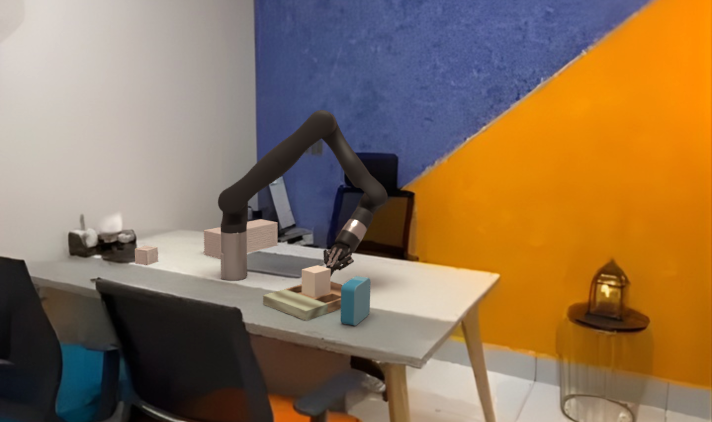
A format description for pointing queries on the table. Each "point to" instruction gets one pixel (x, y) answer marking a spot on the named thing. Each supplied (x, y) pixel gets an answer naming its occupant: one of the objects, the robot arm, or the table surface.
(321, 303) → the board
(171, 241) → the table surface
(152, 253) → the pale pink cube
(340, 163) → the robot arm
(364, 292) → the data package
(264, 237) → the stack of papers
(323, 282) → the block
